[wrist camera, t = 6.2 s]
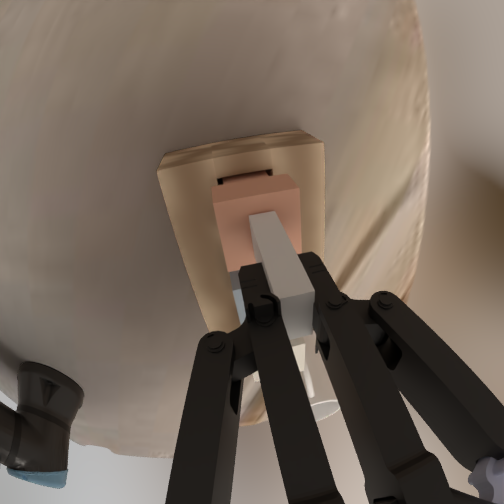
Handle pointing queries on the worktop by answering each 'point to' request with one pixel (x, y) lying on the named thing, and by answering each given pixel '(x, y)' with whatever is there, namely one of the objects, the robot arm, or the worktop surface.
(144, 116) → the worktop surface
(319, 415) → the mug
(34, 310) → the worktop surface
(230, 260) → the terracotta key
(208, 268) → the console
